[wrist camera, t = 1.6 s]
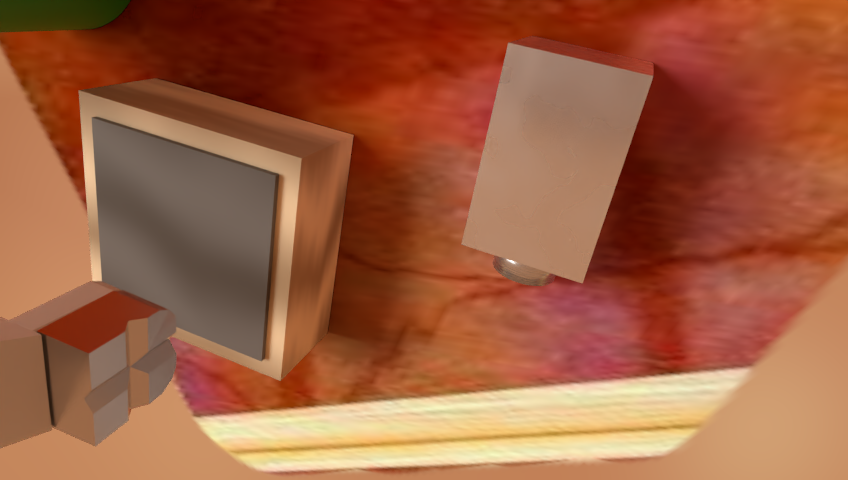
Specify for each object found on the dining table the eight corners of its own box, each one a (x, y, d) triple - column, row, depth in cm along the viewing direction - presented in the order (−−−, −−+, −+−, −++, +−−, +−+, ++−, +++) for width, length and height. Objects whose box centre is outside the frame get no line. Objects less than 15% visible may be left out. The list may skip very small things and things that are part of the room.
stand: (156, 78, 32) (73, 91, 28) (353, 134, 29) (297, 160, 25) (159, 268, 37) (89, 306, 33) (327, 332, 35) (277, 384, 30)
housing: (533, 35, 25) (508, 42, 21) (653, 62, 24) (653, 76, 20) (484, 233, 29) (454, 273, 25) (584, 264, 28) (572, 313, 24)
